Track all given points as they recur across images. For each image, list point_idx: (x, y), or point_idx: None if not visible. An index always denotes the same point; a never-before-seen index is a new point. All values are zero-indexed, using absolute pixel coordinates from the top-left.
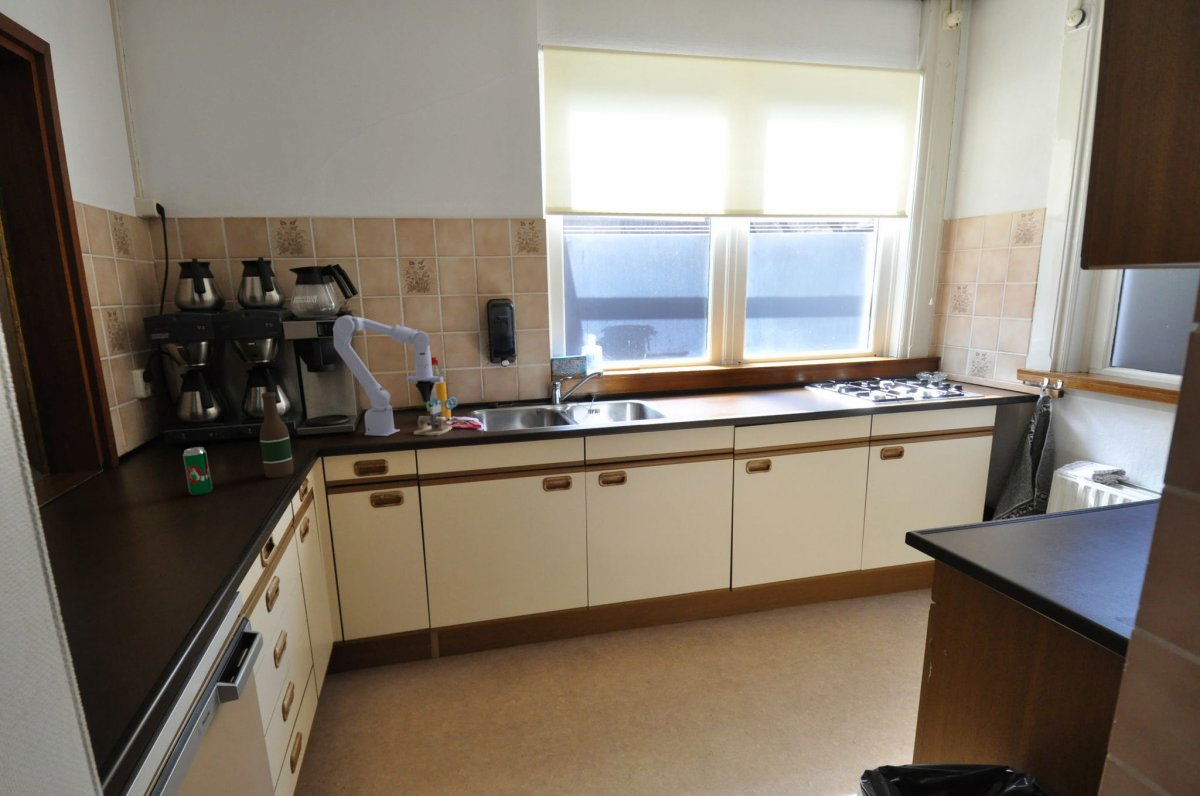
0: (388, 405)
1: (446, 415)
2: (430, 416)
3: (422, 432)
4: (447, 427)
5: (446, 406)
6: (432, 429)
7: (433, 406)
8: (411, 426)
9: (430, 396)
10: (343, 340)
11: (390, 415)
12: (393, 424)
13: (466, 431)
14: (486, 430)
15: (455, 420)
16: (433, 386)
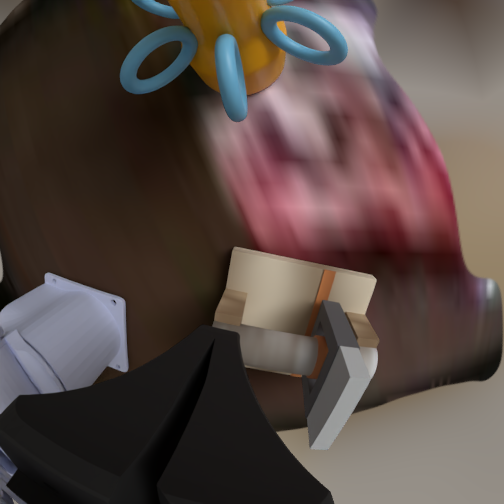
0: (39, 387)
1: (274, 72)
2: (305, 408)
3: (260, 369)
4: (366, 318)
5: (274, 38)
6: (291, 331)
7: (325, 425)
8: (127, 209)
9: (241, 356)
10: None
11: (84, 381)
12: (103, 340)
13: (436, 305)
14: (492, 286)
15: (319, 72)
16: (295, 458)
